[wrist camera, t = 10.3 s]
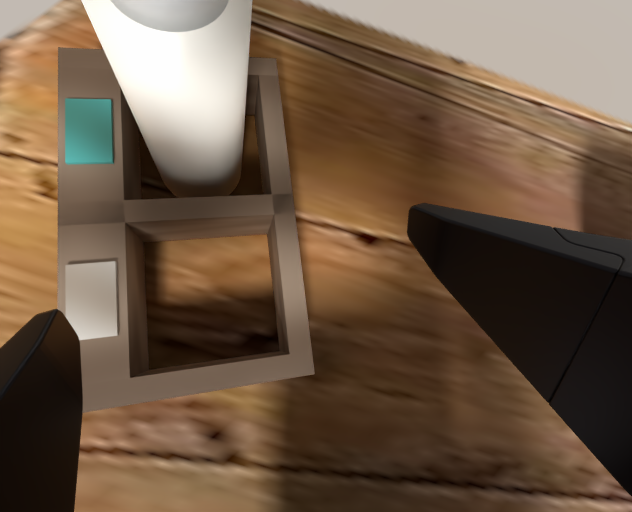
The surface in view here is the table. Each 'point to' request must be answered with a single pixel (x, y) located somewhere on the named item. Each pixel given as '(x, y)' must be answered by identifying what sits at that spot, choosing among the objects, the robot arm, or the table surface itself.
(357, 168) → the table surface
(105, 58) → the socket block
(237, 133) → the plug
